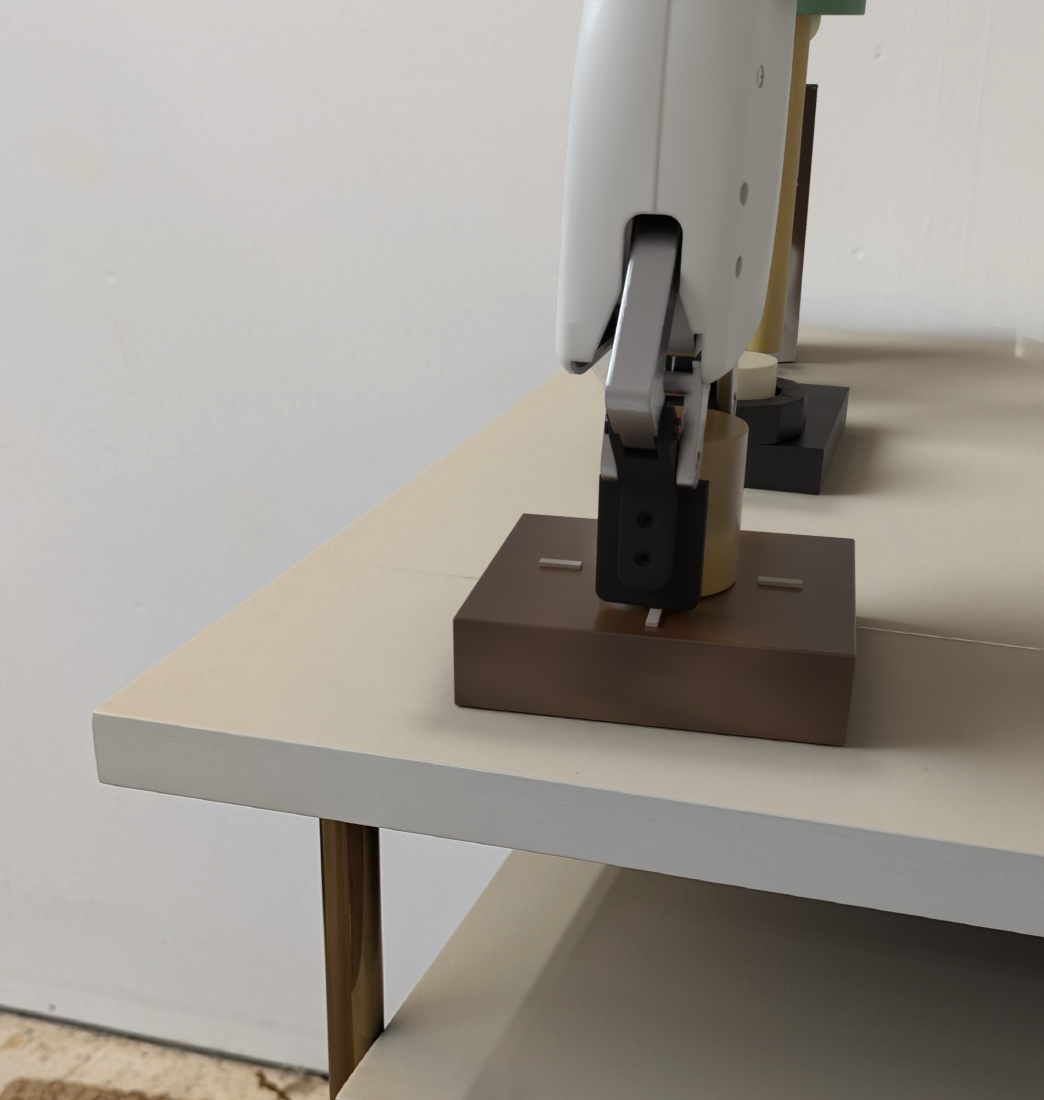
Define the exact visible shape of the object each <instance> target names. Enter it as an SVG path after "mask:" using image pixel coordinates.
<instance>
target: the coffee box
mask: <svg viewBox="0 0 1044 1100" xmlns="http://www.w3.org/2000/svg"><path fill="white" fill-rule="evenodd" d="M818 90H819V84H818V83H806V89H805V100H804V110H803V121H802V132H801V143H800V154H799V165H798V176H797V187H796V197H795V208H794V219H793V230H792V241H791V252H790V263H789V274H788V285H787V295H786V306H785V317H784V328H783V339H782V349H781V351H780V352H777V353H763V354H767V355H770V356H773V357H775V358H776V359H777V360H778V363H790V362H791V363H792V362H796V359H797V351H798V338H799V324H800V311H801V301H802V288H803V273H804V264H805V263H804V262H805V251H806V250H805V249H806V239H807V227H808V214H809V201H810V192H811V191H810V190H811V176H812V167H813V165H812V164H813V154H814V153H813V152H814V142H815V141H814V139H815V130H816V129H815V127H816V114H817V102H818ZM745 351H748V350H747V348H746V349H745Z"/></svg>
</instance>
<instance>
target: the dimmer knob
mask: <svg viewBox="0 0 1044 1100" xmlns="http://www.w3.org/2000/svg"><path fill="white" fill-rule="evenodd" d="M674 407H675V409H676V413H677V418H681V421H682V416H683V407H684V406H674ZM678 427H679V433H681V426H678ZM748 432H749V428H748V425H747V423H746V422H745V421H743V420H742V419H740V418H738V417H736V416H734V415H731V414H728V413H724V412H721V411H716V410H711V409H707V415H706V423H705V432H704V441H703V450H702V459H701V467H700V475H699V479H700V480H710V483H709V496H708V510H707V523H706V537H705V550H704V564H703V577H702V591H701V597H704V596H708V595H713V594H716V593H719V592H721V591H723V590H725V589H727V588H729V587H730V586H731V585H732V584H733V583H734V581H735V580H736V576H737V565H738V553H739V541H740V530H742V528H741V527H742V517H743V516H742V515H743V505H744V504H743V502H744V490H745V488H744V480H745V468H746V456H747V444H748Z"/></svg>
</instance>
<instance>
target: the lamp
mask: <svg viewBox="0 0 1044 1100" xmlns="http://www.w3.org/2000/svg"><path fill="white" fill-rule="evenodd" d="M866 6H867V0H797V9H796V21H795V33H794V46H793V58H792V71H791V84H790V95H789V107H788V118H787V130H786V140H785V150H784V161H783V171H782V180H781V189H780V198H779V207H778V215H777V223H776V231H775V239H774V247H773V254H772V261H771V268H770V275H769V282H768V288H767V294H766V300H765V306H764V311H763V316H762V319H761V323H760V325H759V328H758V330H757V332H756V333H755V335H754V337H753V338H752V340H751V342H750V343H749V345H748V346H747V350H748V351H751V352H758V353H777V352H780V351H781V349H782V339H783V328H784V317H785V306H786V295H787V285H788V274H789V263H790V252H791V241H792V230H793V219H794V208H795V197H796V187H797V176H798V165H799V154H800V143H801V132H802V121H803V110H804V100H805V89H806V84H807V76H808V65H809V55H810V44H811V41H812V40H813V39H814V38H815V36H816V35H817V33H818V32H819V29H820V26H821V22H822V20H821V19H822V16H865V14H866Z"/></svg>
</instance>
